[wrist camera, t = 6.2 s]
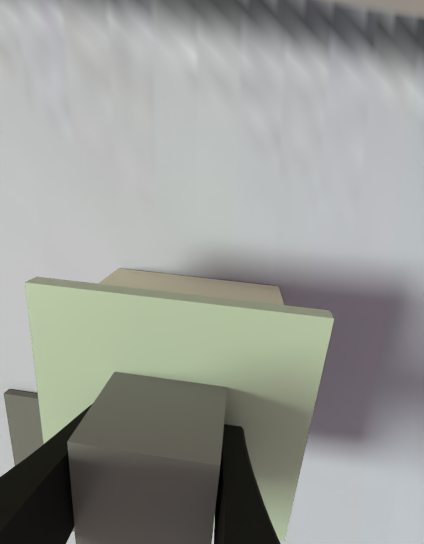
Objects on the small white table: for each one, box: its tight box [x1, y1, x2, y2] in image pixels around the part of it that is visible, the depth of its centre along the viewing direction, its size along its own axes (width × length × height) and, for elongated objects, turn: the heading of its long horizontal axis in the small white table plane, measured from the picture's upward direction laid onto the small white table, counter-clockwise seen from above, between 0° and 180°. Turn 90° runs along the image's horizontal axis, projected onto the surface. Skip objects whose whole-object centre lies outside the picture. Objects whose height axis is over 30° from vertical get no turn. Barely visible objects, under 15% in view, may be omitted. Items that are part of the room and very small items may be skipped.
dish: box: [98, 269, 284, 305], centre depth 15 cm, size 8×8×4 cm
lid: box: [25, 277, 334, 544], centre depth 10 cm, size 10×10×4 cm
